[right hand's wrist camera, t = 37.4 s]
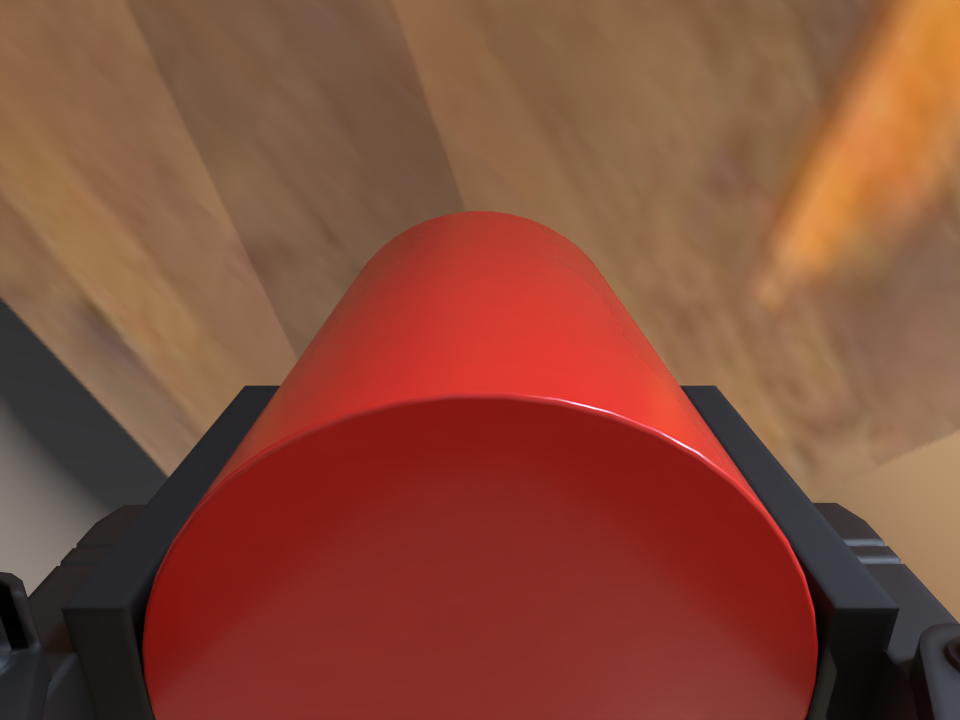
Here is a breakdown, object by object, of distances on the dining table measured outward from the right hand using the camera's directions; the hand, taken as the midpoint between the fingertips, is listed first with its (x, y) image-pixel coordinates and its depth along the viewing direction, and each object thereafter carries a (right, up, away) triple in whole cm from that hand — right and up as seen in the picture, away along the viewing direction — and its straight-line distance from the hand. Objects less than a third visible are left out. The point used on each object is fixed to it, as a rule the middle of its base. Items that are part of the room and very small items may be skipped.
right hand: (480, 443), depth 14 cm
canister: (0, +2, +5) cm, 5 cm away
